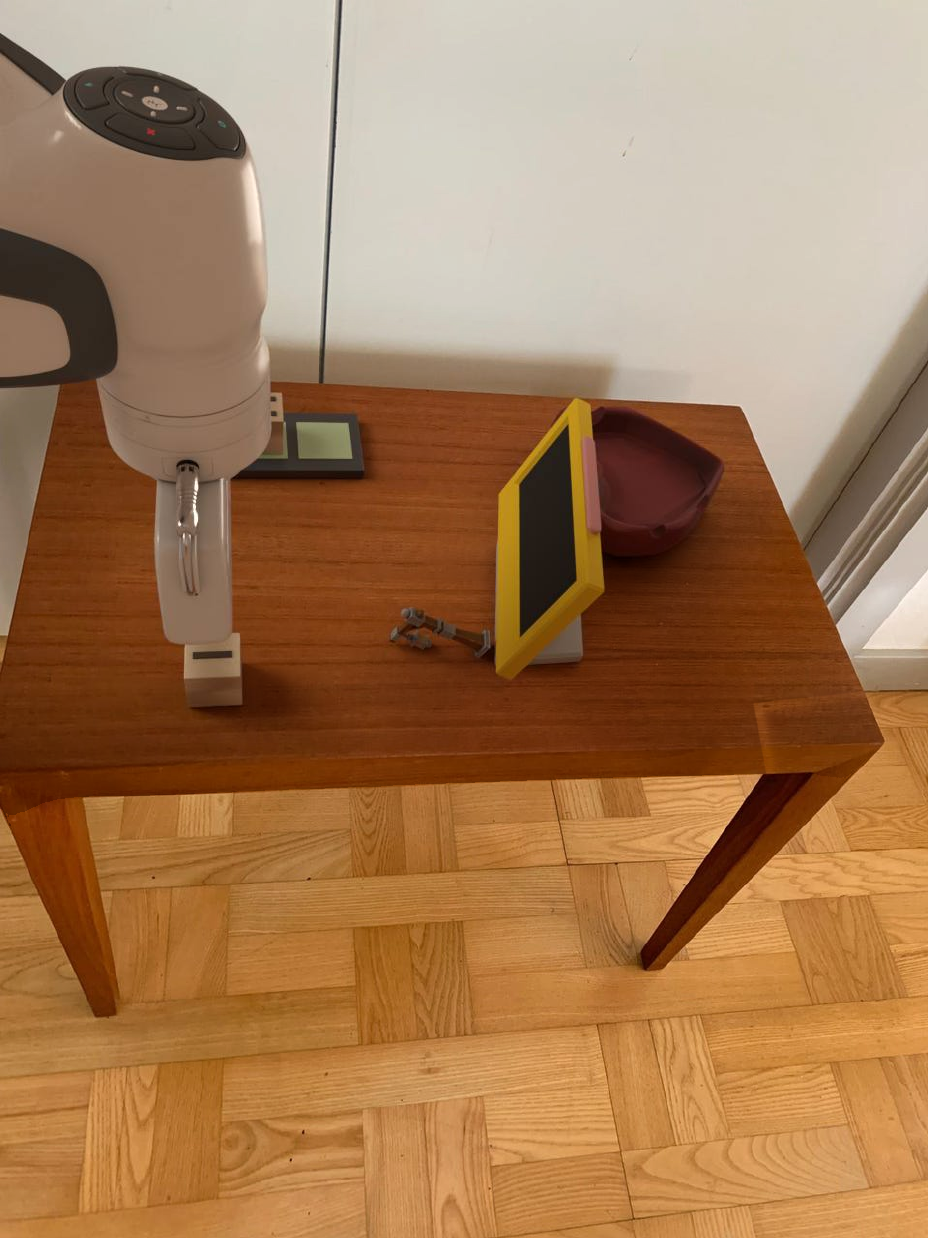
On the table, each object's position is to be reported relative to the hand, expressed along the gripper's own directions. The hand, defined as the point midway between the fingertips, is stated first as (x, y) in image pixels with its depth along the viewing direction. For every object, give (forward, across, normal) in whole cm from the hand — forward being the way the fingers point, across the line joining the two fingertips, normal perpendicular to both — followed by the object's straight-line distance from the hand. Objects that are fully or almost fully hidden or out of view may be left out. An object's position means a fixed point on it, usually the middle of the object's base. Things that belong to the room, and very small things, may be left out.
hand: (206, 567), depth 61 cm
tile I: (+14, 0, 0) cm, 14 cm away
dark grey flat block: (+14, +26, -7) cm, 30 cm away
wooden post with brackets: (+14, +2, -18) cm, 23 cm away
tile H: (+12, +26, -4) cm, 29 cm away
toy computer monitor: (+14, +6, -27) cm, 31 cm away
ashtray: (+14, +19, -40) cm, 46 cm away
